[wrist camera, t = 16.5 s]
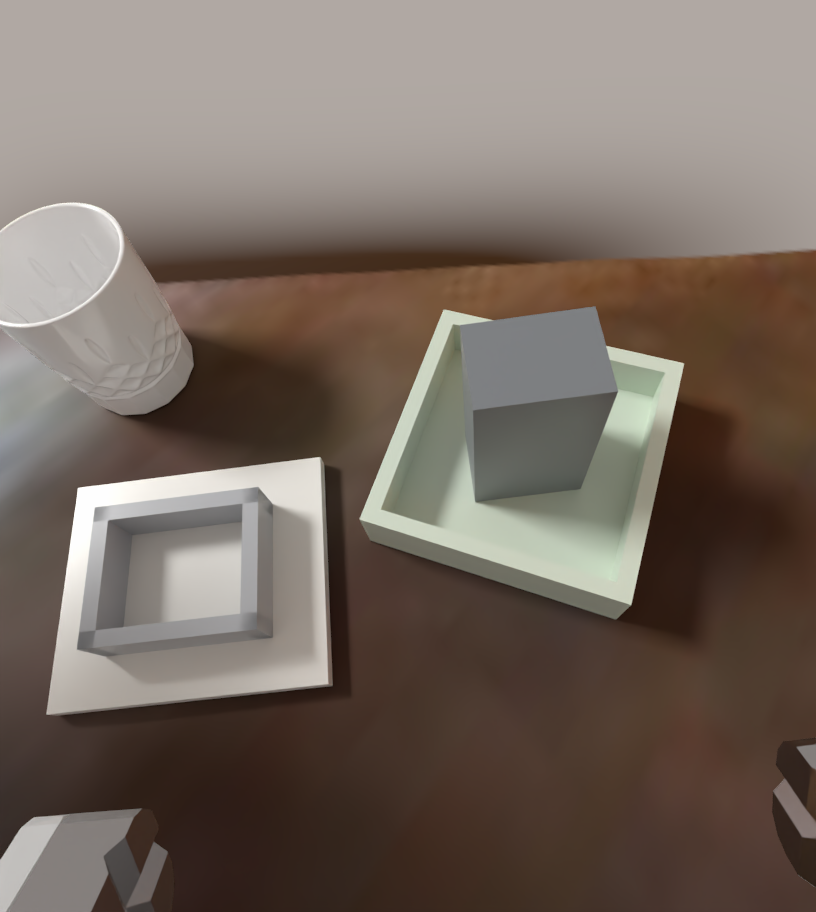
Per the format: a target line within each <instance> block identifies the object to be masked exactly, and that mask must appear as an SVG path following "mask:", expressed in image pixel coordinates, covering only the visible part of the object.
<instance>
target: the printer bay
mask: <svg viewBox="0 0 816 912" xmlns="http://www.w3.org/2000/svg"><path fill="white" fill-rule="evenodd" d="M328 686H333V679H332V653H331V627H330V601H329V575H328V549H327V523H326V497H325V471H324V463H323V461H322V459H321V457H316V458H309V459H301V460H293V461H285V462H277V463H270V464H262V465H254V466H246V467H238V468H230V469H223V470H215V471H207V472H199V473H191V474H184V475H176V476H168V477H160V478H152V479H145V480H137V481H129V482H121V483H113V484H105V485H98V486H90V487H82V488H78V493H77V501H76V508H75V515H74V522H73V529H72V536H71V543H70V550H69V557H68V564H67V572H66V579H65V586H64V593H63V600H62V607H61V614H60V621H59V628H58V635H57V643H56V650H55V657H54V664H53V671H52V678H51V685H50V692H49V699H48V707H47V714H46V715H58V716H59V715H68V714H77V713H87V712H96V711H105V710H115V709H124V708H133V707H142V706H152V705H161V704H170V703H179V702H189V701H198V700H207V699H217V698H226V697H235V696H244V695H254V694H263V693H272V692H282V691H291V690H300V689H309V688H319V687H328Z"/></svg>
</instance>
